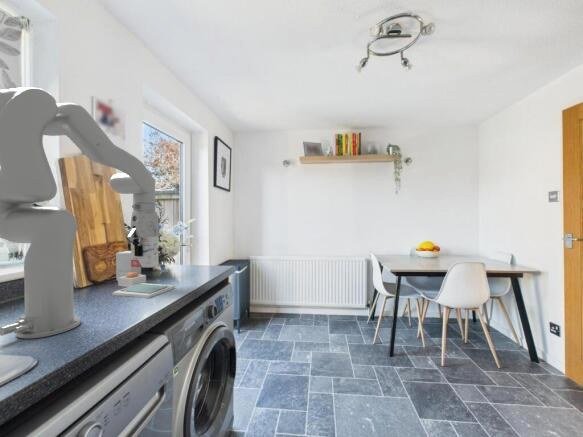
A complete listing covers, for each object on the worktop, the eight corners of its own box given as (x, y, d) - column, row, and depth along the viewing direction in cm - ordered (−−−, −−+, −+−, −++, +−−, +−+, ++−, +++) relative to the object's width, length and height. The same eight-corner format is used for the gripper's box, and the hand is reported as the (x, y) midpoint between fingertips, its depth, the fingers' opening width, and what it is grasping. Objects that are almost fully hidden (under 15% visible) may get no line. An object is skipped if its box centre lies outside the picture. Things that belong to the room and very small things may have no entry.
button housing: (132, 287, 111) (132, 278, 111) (118, 286, 113) (118, 277, 113) (146, 283, 118) (146, 275, 118) (132, 282, 120) (132, 274, 120)
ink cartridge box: (130, 267, 104) (129, 228, 103) (138, 264, 109) (138, 227, 108) (151, 267, 103) (151, 228, 103) (159, 265, 108) (158, 227, 108)
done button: (132, 280, 113) (132, 274, 113) (124, 279, 114) (124, 273, 114) (140, 277, 117) (140, 272, 117) (132, 277, 118) (132, 271, 118)
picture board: (148, 298, 97) (148, 295, 97) (112, 294, 101) (112, 291, 101) (174, 288, 110) (174, 285, 110) (142, 285, 115) (142, 282, 115)
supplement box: (141, 277, 129) (141, 250, 129) (131, 281, 122) (130, 252, 122) (127, 277, 130) (126, 250, 130) (115, 280, 123) (115, 252, 123)
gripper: (134, 207, 96) (135, 259, 96) (168, 208, 113) (168, 252, 113) (117, 207, 98) (117, 258, 98) (152, 208, 115) (153, 251, 115)
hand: (145, 254), depth 106 cm, fingers closed on ink cartridge box, 5 cm apart
